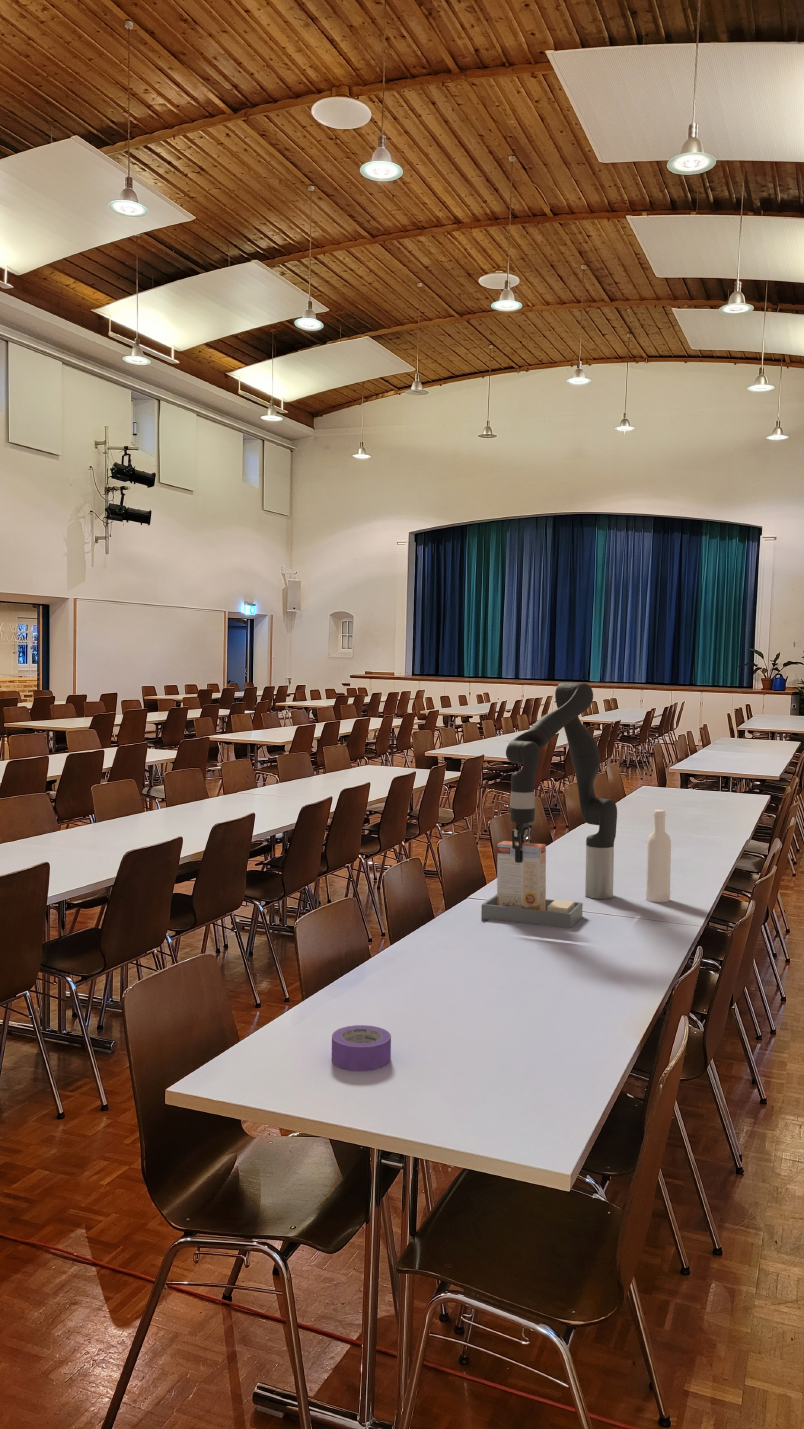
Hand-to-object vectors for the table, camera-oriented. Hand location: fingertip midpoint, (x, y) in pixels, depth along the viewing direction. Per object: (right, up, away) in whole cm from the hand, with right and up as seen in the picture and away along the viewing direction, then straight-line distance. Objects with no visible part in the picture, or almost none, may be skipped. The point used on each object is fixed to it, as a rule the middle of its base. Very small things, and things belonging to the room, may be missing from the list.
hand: (521, 860), depth 308 cm
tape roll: (-45, -24, -108) cm, 120 cm away
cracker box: (0, -16, +1) cm, 16 cm away
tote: (+3, -18, -1) cm, 18 cm away
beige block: (+11, -18, -4) cm, 21 cm away
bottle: (+48, -17, +26) cm, 58 cm away
